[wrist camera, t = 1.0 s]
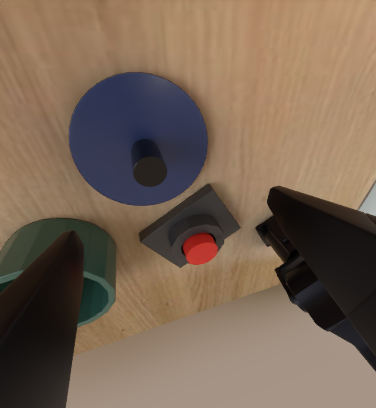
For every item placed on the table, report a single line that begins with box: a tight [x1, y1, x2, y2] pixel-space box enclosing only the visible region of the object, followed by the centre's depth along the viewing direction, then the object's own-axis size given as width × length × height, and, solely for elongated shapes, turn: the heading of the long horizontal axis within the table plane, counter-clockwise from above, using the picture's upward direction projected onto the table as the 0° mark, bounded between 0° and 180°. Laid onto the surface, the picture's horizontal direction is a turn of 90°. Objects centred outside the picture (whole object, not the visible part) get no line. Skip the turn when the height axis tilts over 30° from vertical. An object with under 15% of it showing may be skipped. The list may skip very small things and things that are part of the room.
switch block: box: [139, 184, 241, 268], centre depth 25 cm, size 9×11×4 cm
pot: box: [0, 218, 116, 327], centre depth 21 cm, size 11×11×6 cm
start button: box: [183, 232, 218, 265], centre depth 23 cm, size 4×4×2 cm
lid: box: [69, 72, 208, 206], centre depth 16 cm, size 12×12×5 cm
